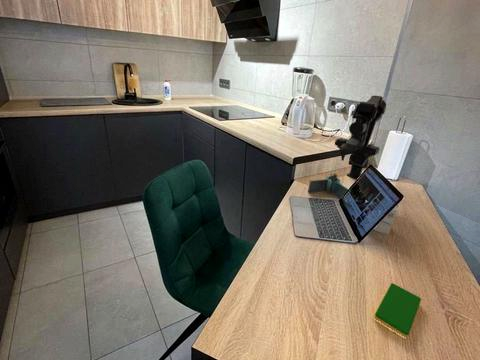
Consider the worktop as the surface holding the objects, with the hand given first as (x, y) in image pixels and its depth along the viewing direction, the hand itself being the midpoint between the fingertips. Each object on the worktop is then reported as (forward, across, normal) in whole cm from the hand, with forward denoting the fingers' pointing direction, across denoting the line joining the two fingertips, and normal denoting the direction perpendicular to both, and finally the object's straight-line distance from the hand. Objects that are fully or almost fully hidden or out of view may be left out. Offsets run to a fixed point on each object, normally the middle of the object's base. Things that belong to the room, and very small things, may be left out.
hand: (351, 163), depth 124 cm
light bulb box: (+12, +22, -26) cm, 36 cm away
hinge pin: (+12, -3, -11) cm, 17 cm away
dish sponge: (+13, +39, -61) cm, 74 cm away
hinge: (+12, -1, -15) cm, 19 cm away
